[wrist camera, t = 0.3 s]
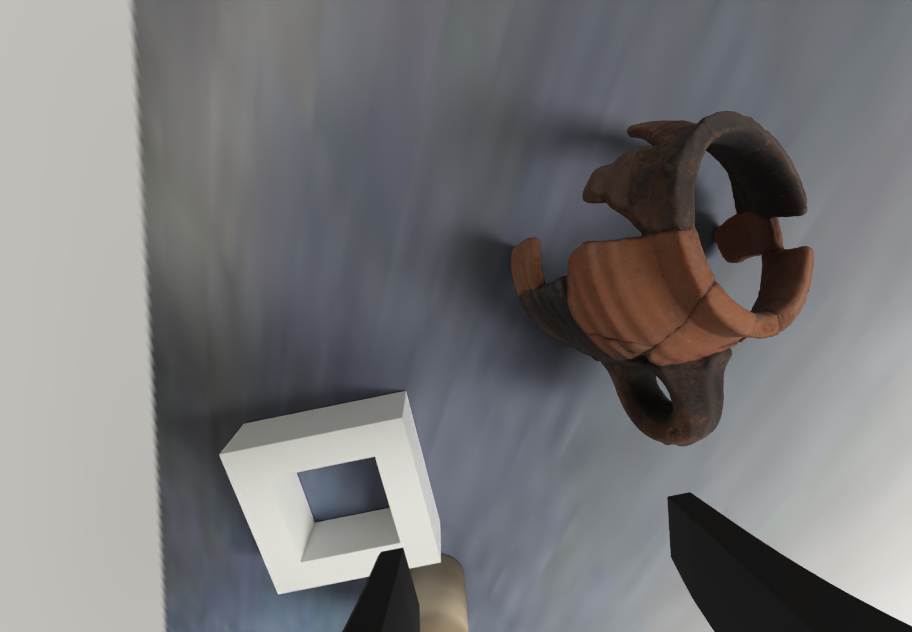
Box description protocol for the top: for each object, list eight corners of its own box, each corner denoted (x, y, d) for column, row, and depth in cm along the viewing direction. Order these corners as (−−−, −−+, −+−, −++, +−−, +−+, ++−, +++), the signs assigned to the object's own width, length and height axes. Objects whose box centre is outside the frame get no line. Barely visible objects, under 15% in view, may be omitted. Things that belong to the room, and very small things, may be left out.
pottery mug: (473, 188, 19) (621, 80, 11) (625, 171, 23) (807, 84, 15) (537, 454, 19) (721, 520, 12) (675, 389, 23) (875, 407, 16)
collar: (440, 523, 23) (440, 562, 21) (294, 552, 23) (278, 594, 21) (406, 390, 21) (402, 417, 18) (243, 423, 21) (218, 454, 18)
